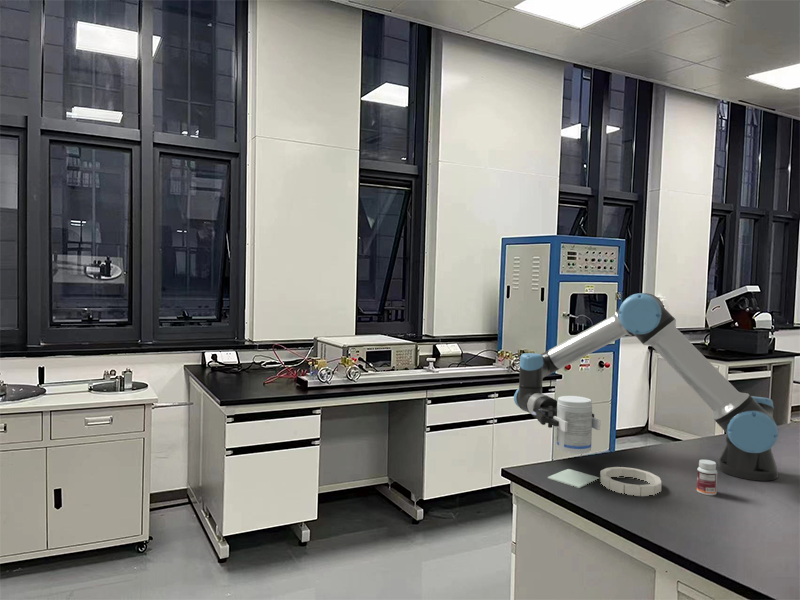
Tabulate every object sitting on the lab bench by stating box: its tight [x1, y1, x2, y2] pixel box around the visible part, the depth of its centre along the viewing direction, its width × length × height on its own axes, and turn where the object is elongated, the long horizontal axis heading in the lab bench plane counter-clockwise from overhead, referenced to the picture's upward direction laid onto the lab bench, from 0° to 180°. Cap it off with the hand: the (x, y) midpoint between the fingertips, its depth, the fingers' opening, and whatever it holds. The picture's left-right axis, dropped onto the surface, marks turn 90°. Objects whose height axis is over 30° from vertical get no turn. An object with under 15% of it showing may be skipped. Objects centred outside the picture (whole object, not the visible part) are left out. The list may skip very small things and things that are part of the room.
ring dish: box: [599, 466, 663, 497], centre depth 157 cm, size 16×16×2 cm
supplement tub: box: [556, 395, 593, 455], centre depth 161 cm, size 10×10×15 cm
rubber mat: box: [547, 468, 600, 489], centre depth 161 cm, size 10×11×1 cm
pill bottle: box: [696, 459, 718, 496], centre depth 152 cm, size 5×5×8 cm
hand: (582, 426), depth 156 cm, fingers closed on supplement tub, 9 cm apart
